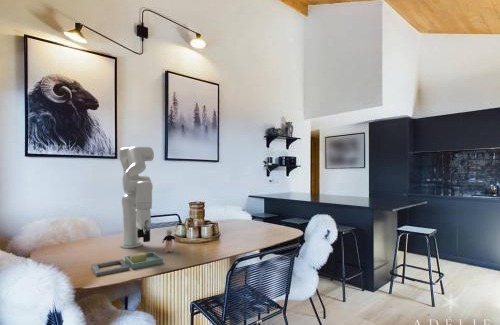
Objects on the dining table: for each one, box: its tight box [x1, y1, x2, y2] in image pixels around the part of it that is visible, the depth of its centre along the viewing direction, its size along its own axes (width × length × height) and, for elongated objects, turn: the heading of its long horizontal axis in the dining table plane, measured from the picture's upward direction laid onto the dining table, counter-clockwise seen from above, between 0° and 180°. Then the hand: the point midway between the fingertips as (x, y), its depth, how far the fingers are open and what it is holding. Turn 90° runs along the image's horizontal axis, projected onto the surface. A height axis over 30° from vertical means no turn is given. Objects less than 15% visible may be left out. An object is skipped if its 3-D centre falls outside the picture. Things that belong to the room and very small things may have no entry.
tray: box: [124, 251, 164, 271], centre depth 149 cm, size 15×15×2 cm
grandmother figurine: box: [161, 229, 177, 253], centre depth 168 cm, size 8×4×13 cm, turn 126°
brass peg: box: [129, 252, 146, 263], centre depth 148 cm, size 4×4×7 cm
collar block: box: [90, 258, 131, 277], centre depth 140 cm, size 14×14×2 cm
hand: (143, 239), depth 150 cm, fingers open, 9 cm apart
